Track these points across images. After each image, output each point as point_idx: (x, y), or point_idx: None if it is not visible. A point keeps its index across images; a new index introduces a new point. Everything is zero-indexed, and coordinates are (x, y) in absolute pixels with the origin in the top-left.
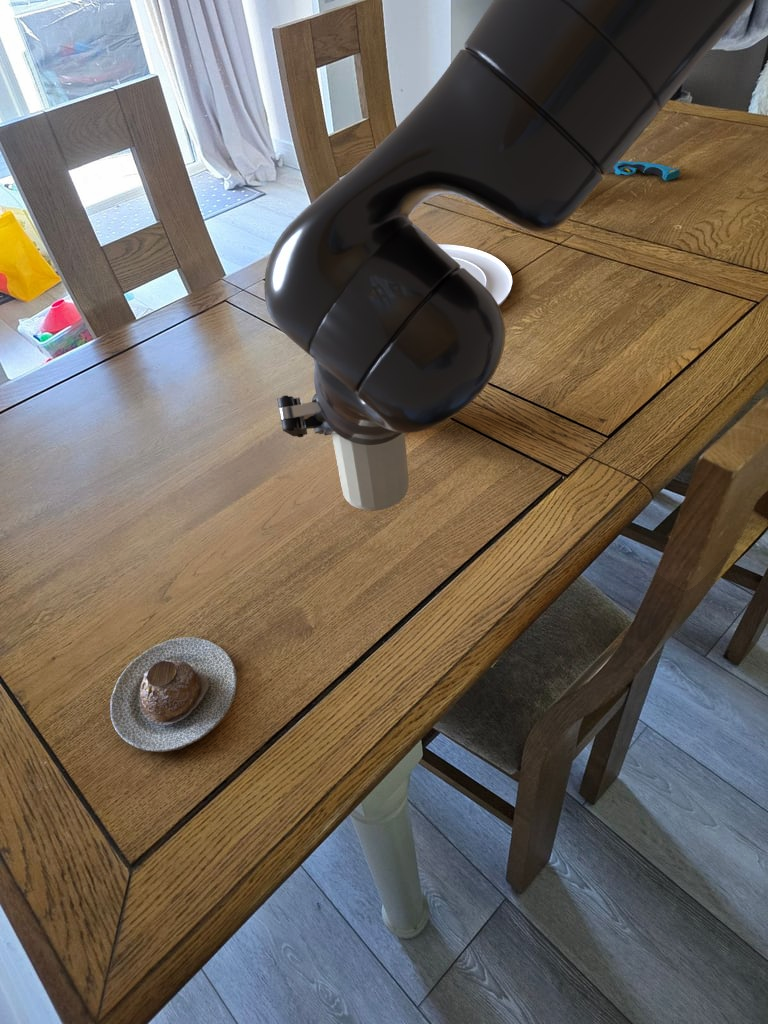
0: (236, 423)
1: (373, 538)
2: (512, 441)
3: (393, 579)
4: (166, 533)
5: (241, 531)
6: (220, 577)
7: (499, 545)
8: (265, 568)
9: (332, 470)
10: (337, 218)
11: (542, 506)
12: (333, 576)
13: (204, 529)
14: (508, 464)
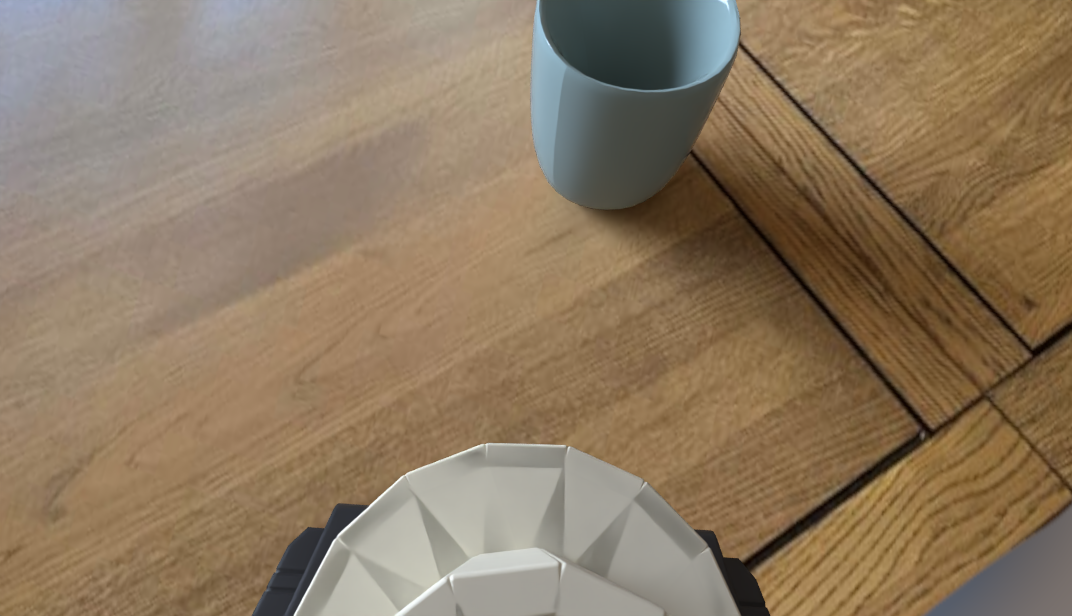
0: (321, 84)
1: None
2: (841, 303)
3: None
4: (107, 330)
5: (253, 373)
6: (177, 488)
7: None
8: (272, 492)
9: (472, 266)
10: None
11: (865, 502)
12: None
13: (183, 344)
14: (820, 363)
